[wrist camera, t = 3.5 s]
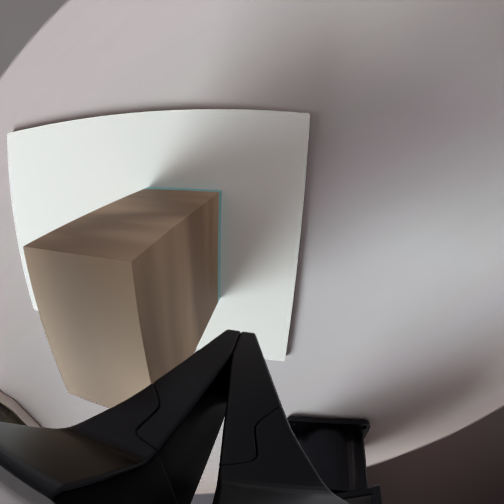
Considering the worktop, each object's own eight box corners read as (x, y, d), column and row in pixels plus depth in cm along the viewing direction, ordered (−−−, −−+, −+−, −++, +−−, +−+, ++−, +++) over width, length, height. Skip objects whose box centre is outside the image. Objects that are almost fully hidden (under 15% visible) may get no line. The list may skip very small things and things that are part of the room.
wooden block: (221, 190, 15) (131, 261, 7) (220, 298, 18) (160, 423, 9) (148, 187, 16) (22, 246, 8) (154, 288, 18) (68, 392, 10)
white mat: (309, 114, 14) (310, 113, 13) (285, 356, 19) (284, 361, 19) (11, 132, 16) (7, 133, 16) (37, 306, 21) (34, 309, 21)
